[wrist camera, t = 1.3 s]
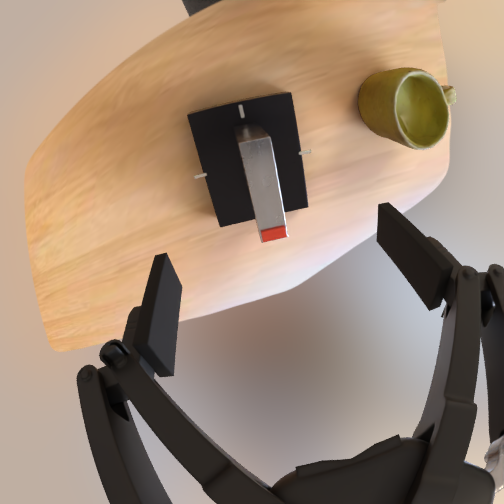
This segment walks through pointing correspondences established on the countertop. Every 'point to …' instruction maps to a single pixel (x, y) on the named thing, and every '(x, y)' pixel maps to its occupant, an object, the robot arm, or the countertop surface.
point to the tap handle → (261, 180)
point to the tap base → (229, 161)
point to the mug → (406, 107)
